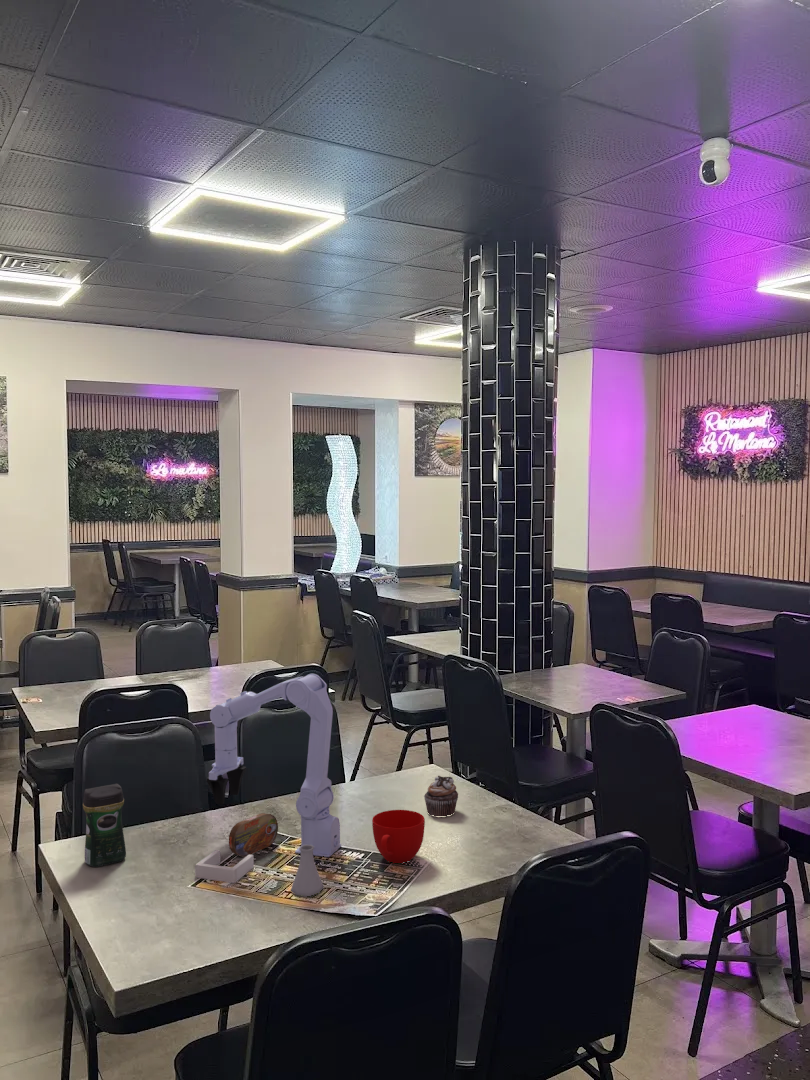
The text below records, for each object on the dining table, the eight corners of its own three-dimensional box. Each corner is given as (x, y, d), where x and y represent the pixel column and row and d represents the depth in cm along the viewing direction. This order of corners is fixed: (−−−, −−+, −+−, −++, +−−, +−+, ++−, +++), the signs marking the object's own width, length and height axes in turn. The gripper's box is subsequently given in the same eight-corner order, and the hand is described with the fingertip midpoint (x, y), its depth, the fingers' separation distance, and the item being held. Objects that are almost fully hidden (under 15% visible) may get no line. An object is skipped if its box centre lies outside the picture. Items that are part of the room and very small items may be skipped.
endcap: (253, 867, 208) (253, 855, 208) (234, 883, 199) (234, 870, 199) (215, 862, 211) (215, 849, 211) (195, 877, 203) (195, 864, 203)
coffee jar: (121, 851, 219) (119, 778, 218) (128, 861, 212) (127, 787, 211) (81, 859, 214) (79, 785, 213) (87, 870, 207) (86, 794, 206)
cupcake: (426, 806, 250) (425, 772, 249) (459, 807, 248) (459, 773, 248) (422, 818, 240) (422, 782, 240) (456, 819, 239) (456, 783, 239)
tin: (235, 861, 212) (234, 827, 212) (226, 858, 214) (226, 825, 213) (279, 842, 224) (278, 810, 223) (270, 839, 226) (270, 807, 225)
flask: (309, 900, 190) (309, 855, 190) (284, 893, 194) (283, 849, 194) (329, 888, 196) (329, 844, 196) (304, 881, 200) (304, 838, 200)
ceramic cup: (358, 871, 205) (357, 830, 205) (384, 845, 221) (383, 807, 220) (409, 879, 200) (408, 837, 200) (432, 852, 216) (431, 812, 216)
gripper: (226, 739, 235) (227, 789, 236) (198, 754, 222) (199, 806, 222) (249, 741, 233) (250, 791, 234) (222, 756, 219) (223, 809, 220)
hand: (227, 799), depth 228 cm, fingers open, 7 cm apart
